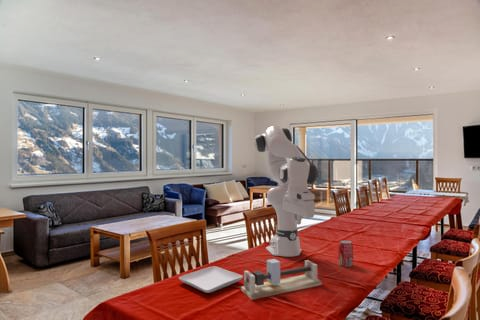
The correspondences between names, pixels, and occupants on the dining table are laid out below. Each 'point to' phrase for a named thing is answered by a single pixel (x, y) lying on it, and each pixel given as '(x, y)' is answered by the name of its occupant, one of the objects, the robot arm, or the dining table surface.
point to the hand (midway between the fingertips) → (297, 223)
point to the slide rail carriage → (273, 271)
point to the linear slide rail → (259, 288)
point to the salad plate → (210, 279)
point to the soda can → (345, 253)
